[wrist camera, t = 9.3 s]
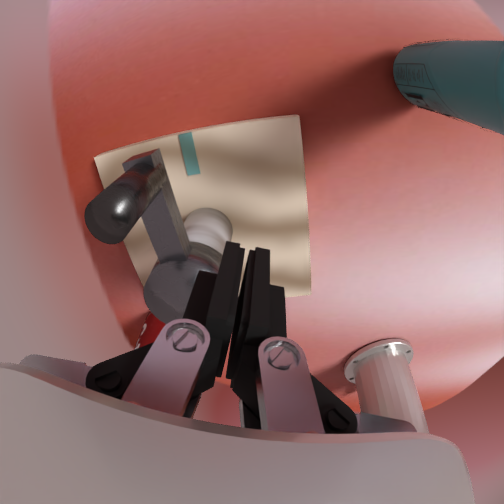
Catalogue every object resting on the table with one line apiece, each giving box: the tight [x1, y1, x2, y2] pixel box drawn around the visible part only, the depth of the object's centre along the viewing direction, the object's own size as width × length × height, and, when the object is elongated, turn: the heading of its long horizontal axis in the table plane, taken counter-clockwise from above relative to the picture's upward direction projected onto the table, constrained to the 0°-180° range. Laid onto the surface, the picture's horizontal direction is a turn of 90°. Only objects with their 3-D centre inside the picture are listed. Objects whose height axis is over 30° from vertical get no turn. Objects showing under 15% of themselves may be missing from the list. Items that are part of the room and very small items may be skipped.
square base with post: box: [94, 115, 311, 297], centre depth 27 cm, size 20×20×8 cm
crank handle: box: [85, 148, 222, 324], centre depth 18 cm, size 14×6×7 cm, turn 11°
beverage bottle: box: [393, 39, 504, 135], centre depth 12 cm, size 6×7×20 cm
